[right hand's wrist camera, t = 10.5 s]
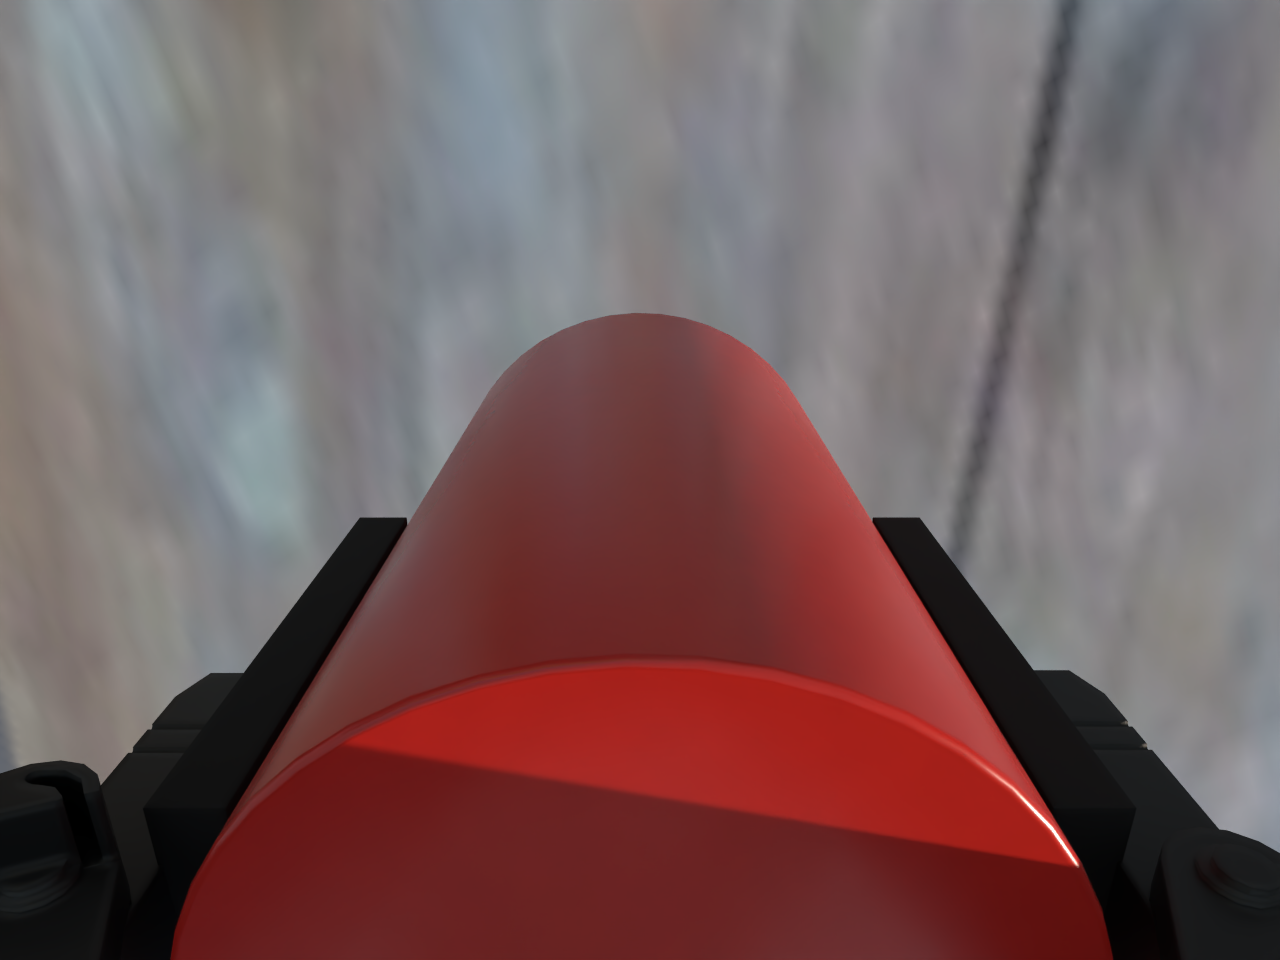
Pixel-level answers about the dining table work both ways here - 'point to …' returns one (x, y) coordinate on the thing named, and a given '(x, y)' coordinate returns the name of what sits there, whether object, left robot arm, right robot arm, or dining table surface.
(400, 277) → the dining table surface
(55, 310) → the dining table surface
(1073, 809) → the right robot arm
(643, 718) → the can
